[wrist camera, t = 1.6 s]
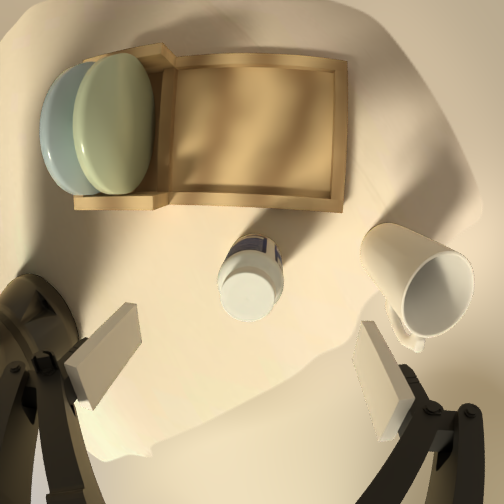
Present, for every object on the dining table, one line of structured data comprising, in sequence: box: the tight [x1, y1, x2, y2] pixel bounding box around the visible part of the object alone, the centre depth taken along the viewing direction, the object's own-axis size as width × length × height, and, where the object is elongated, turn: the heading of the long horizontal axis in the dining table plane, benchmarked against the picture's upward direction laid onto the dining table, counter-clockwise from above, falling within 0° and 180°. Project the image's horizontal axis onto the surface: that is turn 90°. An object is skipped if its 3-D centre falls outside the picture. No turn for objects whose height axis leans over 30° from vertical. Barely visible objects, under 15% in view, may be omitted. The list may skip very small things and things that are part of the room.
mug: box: [360, 223, 475, 353], centre depth 24 cm, size 10×7×12 cm, turn 1°
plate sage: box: [73, 53, 156, 194], centre depth 20 cm, size 1×12×12 cm, turn 178°
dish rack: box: [74, 43, 348, 213], centre depth 24 cm, size 25×15×6 cm, turn 88°
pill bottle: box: [217, 234, 284, 322], centre depth 25 cm, size 5×5×10 cm
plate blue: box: [39, 61, 100, 195], centre depth 21 cm, size 1×12×12 cm, turn 177°
